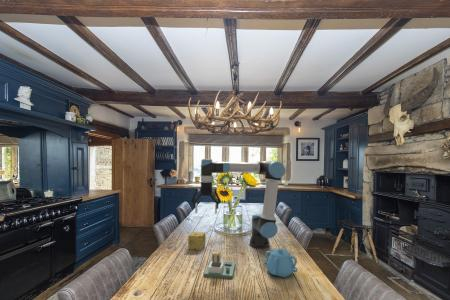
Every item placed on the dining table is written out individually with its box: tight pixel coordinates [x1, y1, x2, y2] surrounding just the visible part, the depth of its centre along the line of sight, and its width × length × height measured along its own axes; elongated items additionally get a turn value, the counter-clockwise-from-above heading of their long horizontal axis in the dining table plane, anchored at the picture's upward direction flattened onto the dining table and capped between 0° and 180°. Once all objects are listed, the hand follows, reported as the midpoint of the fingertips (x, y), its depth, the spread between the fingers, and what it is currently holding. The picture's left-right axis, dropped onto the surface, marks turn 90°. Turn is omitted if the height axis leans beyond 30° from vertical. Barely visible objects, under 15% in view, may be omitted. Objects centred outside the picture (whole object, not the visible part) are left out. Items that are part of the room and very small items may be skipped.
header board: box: [203, 259, 236, 279], centre depth 145 cm, size 16×18×4 cm
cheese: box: [187, 231, 207, 251], centre depth 181 cm, size 10×11×10 cm
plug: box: [211, 249, 222, 267], centre depth 142 cm, size 4×6×10 cm
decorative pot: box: [264, 248, 298, 279], centre depth 142 cm, size 16×16×14 cm
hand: (206, 213), depth 165 cm, fingers open, 13 cm apart
